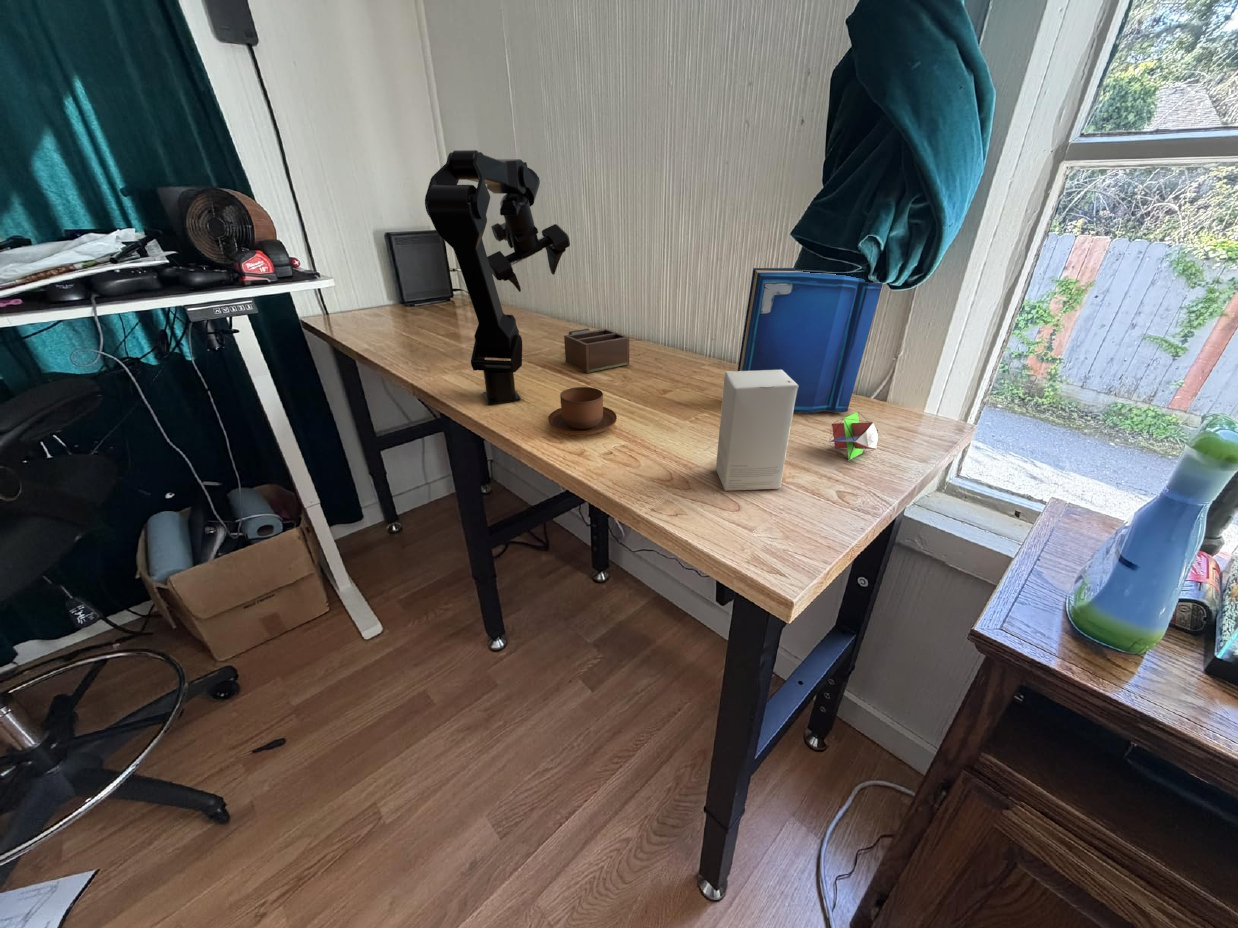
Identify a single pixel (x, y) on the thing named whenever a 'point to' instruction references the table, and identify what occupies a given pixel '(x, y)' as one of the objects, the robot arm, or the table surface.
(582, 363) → the shelf
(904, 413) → the table surface
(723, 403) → the cosmetic box
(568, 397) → the cup and saucer
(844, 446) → the geometric puzzle
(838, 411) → the book
